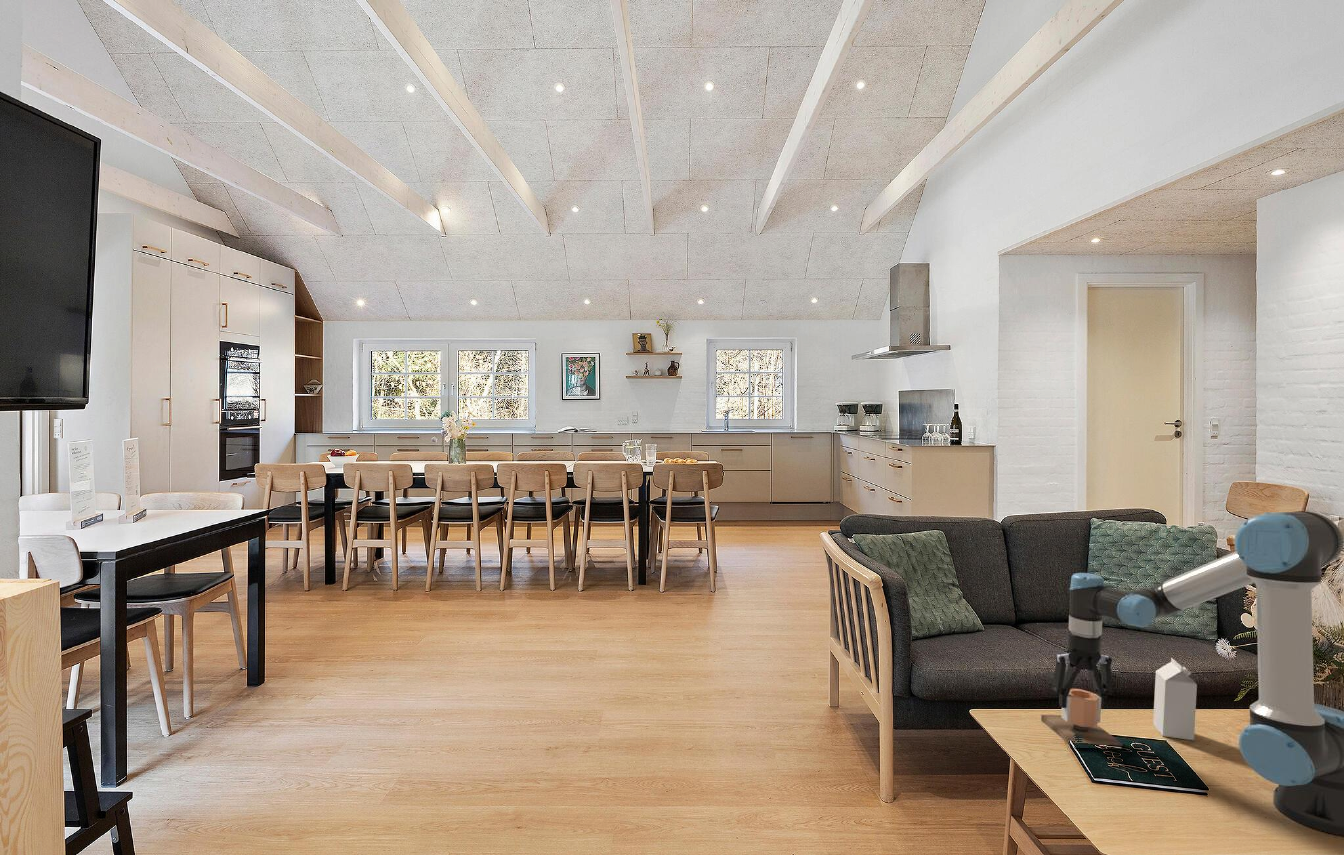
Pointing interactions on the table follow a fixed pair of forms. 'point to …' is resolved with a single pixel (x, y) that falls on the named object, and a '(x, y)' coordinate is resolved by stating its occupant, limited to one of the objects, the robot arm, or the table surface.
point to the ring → (1083, 708)
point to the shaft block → (1079, 731)
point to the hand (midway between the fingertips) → (1080, 719)
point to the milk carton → (1175, 702)
